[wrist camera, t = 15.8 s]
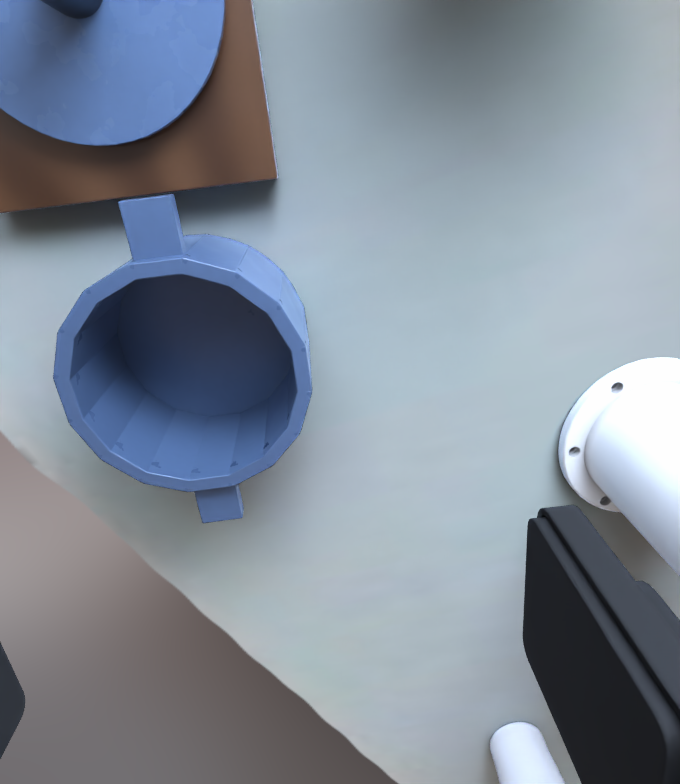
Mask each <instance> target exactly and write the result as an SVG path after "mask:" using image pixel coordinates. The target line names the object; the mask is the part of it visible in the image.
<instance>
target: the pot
mask: <svg viewBox="0 0 680 784" xmlns="http://www.w3.org/2000/svg"><path fill="white" fill-rule="evenodd" d="M118 205H119V209H120V212H121V216H122V220H123V224H124V228H125V231H126V235H127V239H128V243H129V246H130V250H131V254H132V258H133V259H131V260H130V261H128V262H127V263H125V264H124V265H122V266H121V267H119V268H118V269H116V270H115V271H113V272H111V273H110V274H108V275H107V276H105V277H104V278H102V279H101V280H99V281H98V282H96V283H95V284H93V285H92V286H90V287H88V288H87V289H85V290H84V291H83V292H82V294H81V295H80V297H79V299H78V300H77V302H76V303H75V305H74V307H73V308H72V310H71V311H70V313H69V315H68V316H67V318H66V319H65V321H64V322H63V324H62V326H61V327H60V329H59V330H58V333H57V343H56V354H55V364H54V375H53V379H54V382H55V385H56V388H57V391H58V394H59V396H60V399H61V402H62V405H63V408H64V410H65V413H66V416H67V419H68V422H69V423H70V425H71V426H72V428H73V429H74V430H75V431H76V432H77V433H78V434H79V436H80V437H81V438H82V439H83V440H84V441H85V442H86V443H87V445H88V446H89V447H90V448H91V449H92V450H93V451H94V453H95V454H96V455H97V456H98V457H99V458H100V459H102V461H104V462H106V463H108V464H109V465H111V466H113V467H115V468H116V469H118V470H120V471H122V472H124V473H125V474H127V475H129V476H131V477H133V478H134V479H136V480H138V481H140V482H142V483H144V484H148V485H154V486H159V487H164V488H169V489H174V490H180V491H185V492H194V493H195V496H196V500H197V504H198V508H199V512H200V515H201V519H202V523H209V522H216V521H223V520H231V519H238V518H242V517H243V511H244V506H243V502H242V497H241V493H240V488H239V483H241V482H243V481H245V480H247V479H248V478H250V477H252V476H254V475H256V474H258V473H260V472H262V471H264V470H266V469H267V468H269V467H271V466H272V465H274V464H275V463H276V461H277V460H278V459H279V458H280V457H281V455H282V454H283V453H284V452H285V451H286V450H287V448H288V447H289V446H290V445H291V444H292V442H293V441H294V440H295V439H296V438H297V436H298V435H299V434H300V432H301V429H302V426H303V422H304V419H305V415H306V412H307V408H308V405H309V401H310V398H311V394H312V378H311V362H310V347H309V338H308V331H307V322H306V317H305V310H304V306H303V303H302V302H301V300H300V298H299V296H298V294H297V292H296V290H295V288H294V287H293V285H292V284H291V282H290V281H289V279H288V278H287V276H286V275H285V273H284V272H283V271H282V270H281V269H280V268H279V267H278V266H277V265H275V264H274V263H273V262H272V261H271V260H270V259H269V258H267V257H266V256H265V255H263V254H262V253H260V252H259V251H257V250H256V249H254V248H252V247H251V246H249V245H246V244H244V243H241V242H238V241H235V240H232V239H230V238H225V237H220V236H215V235H210V234H201V235H186V236H183V233H182V229H181V224H180V220H179V215H178V211H177V206H176V202H175V197H174V194H169V195H161V196H153V197H145V198H137V199H129V200H123V201H119V202H118Z"/></svg>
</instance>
